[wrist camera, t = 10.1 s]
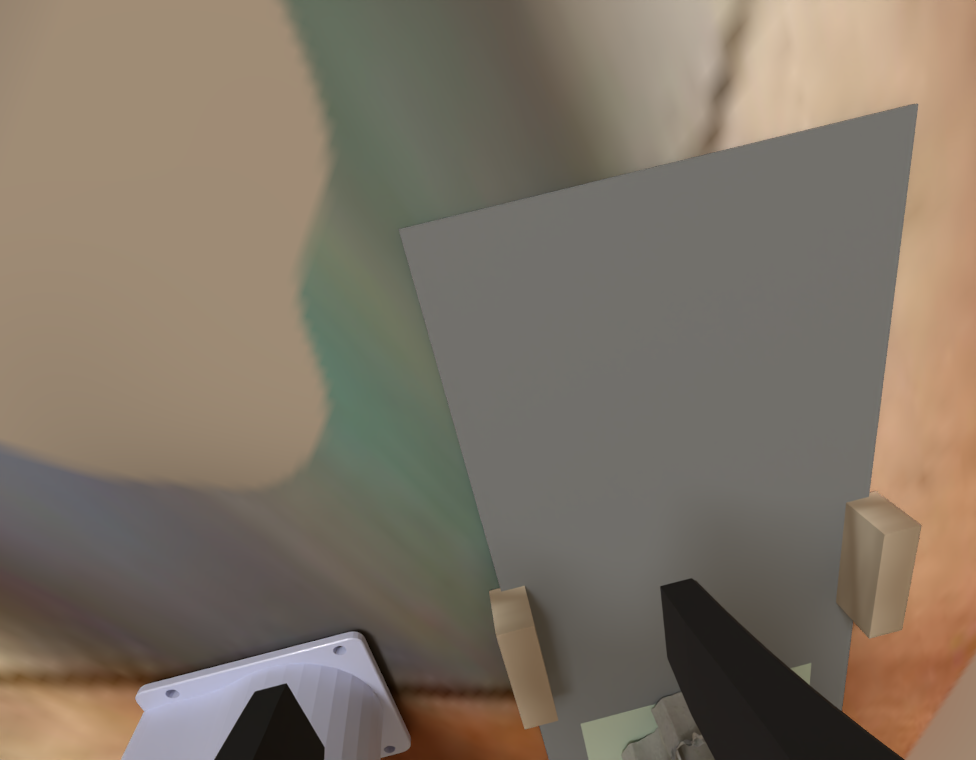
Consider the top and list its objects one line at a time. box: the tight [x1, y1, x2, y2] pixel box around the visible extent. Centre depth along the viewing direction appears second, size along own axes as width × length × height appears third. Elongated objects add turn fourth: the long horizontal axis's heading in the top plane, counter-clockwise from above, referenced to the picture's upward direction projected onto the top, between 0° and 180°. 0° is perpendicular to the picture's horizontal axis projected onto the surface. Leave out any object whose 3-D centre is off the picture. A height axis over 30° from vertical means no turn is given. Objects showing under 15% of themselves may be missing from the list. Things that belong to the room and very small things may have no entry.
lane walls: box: [489, 491, 922, 729], centre depth 22 cm, size 17×6×2 cm, turn 102°
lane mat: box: [399, 104, 918, 760], centre depth 23 cm, size 16×37×1 cm, turn 12°
